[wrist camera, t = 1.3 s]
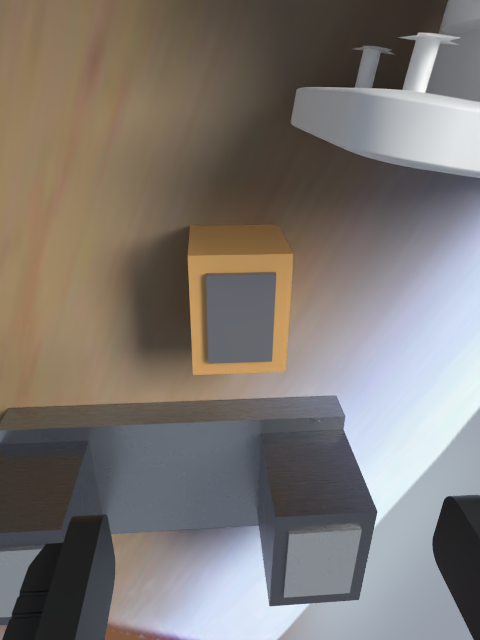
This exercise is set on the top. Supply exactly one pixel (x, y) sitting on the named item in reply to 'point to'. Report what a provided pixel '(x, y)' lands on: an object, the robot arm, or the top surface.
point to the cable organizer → (410, 102)
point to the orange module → (239, 298)
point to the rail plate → (192, 484)
